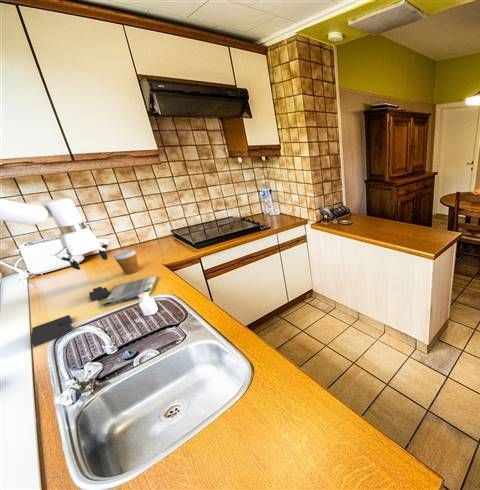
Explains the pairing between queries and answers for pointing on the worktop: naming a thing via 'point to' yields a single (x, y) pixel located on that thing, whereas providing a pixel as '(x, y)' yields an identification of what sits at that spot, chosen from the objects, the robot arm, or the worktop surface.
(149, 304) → the pepper shaker
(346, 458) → the worktop surface
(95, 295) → the black pad
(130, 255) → the disposable coffee cup
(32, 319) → the worktop surface
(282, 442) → the worktop surface
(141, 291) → the dish towel
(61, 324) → the charcoal pad
